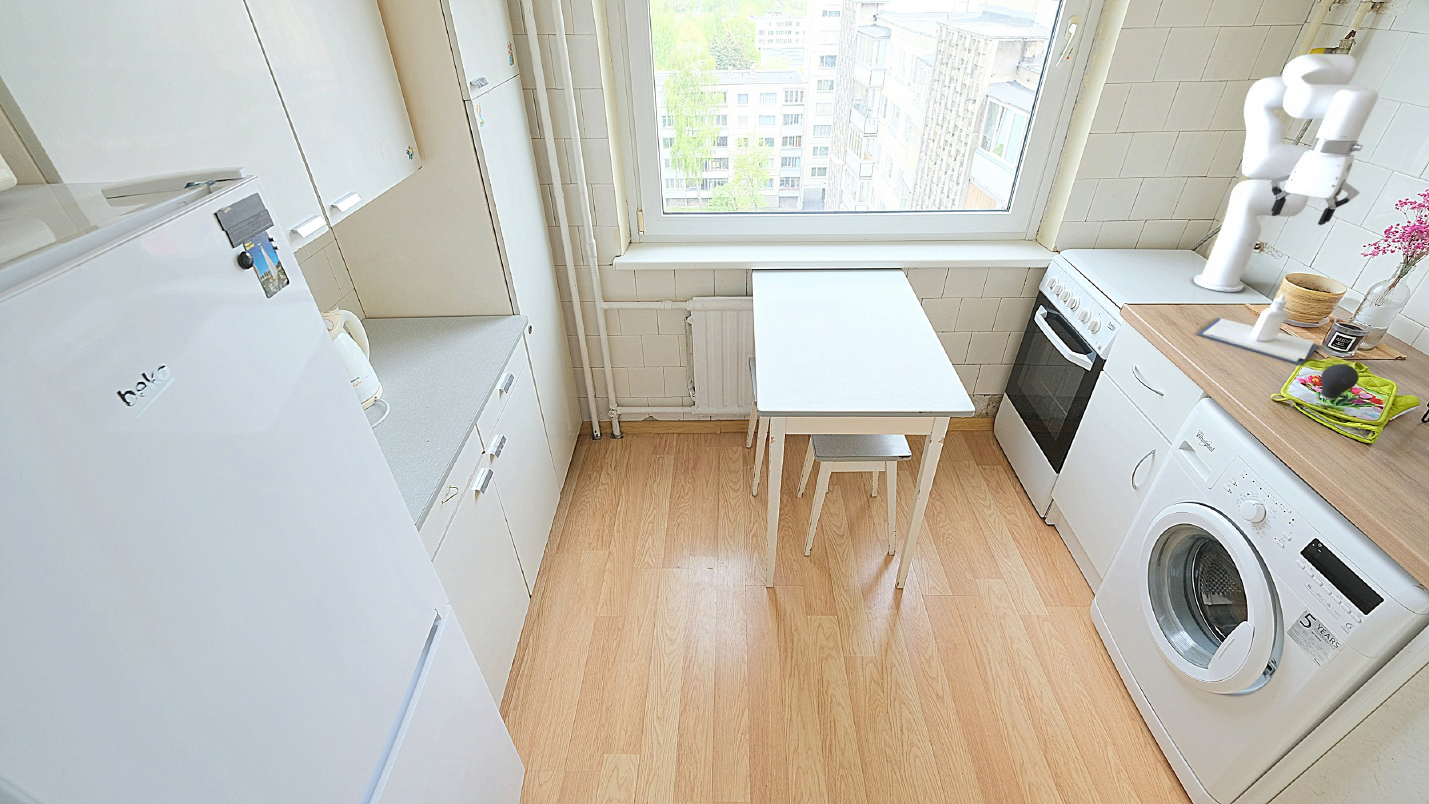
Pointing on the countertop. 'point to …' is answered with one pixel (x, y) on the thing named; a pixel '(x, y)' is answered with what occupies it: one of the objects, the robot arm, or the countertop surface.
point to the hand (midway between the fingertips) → (1297, 219)
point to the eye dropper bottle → (1270, 321)
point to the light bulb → (1337, 381)
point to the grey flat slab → (1278, 348)
